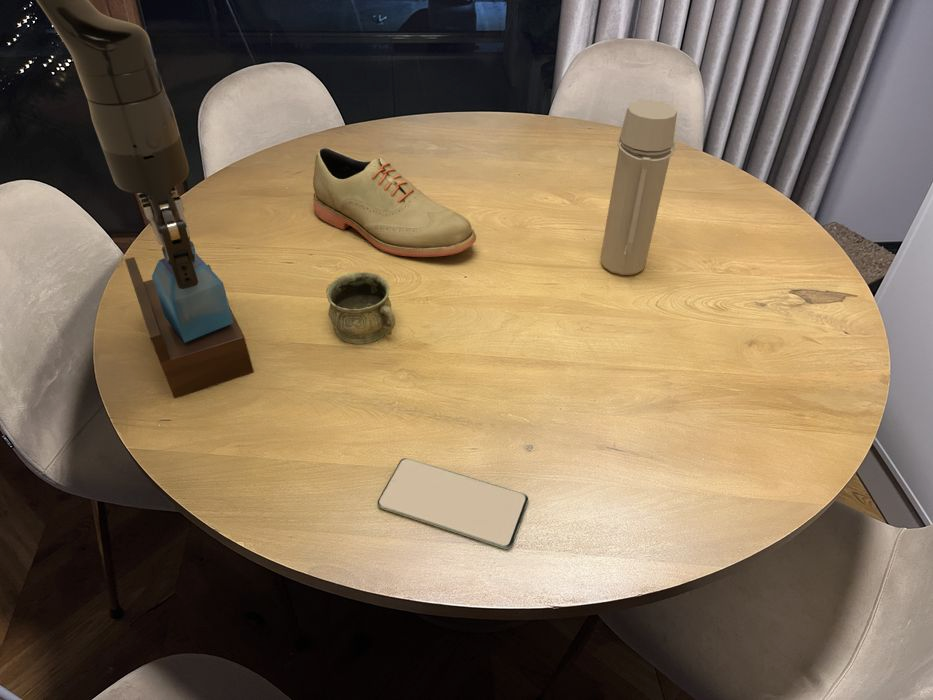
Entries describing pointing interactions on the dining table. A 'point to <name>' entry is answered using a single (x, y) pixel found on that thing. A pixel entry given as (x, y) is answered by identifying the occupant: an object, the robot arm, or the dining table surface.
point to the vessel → (360, 307)
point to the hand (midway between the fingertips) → (183, 274)
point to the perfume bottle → (192, 299)
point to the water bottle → (638, 185)
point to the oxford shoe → (385, 207)
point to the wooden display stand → (190, 345)
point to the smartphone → (454, 502)
